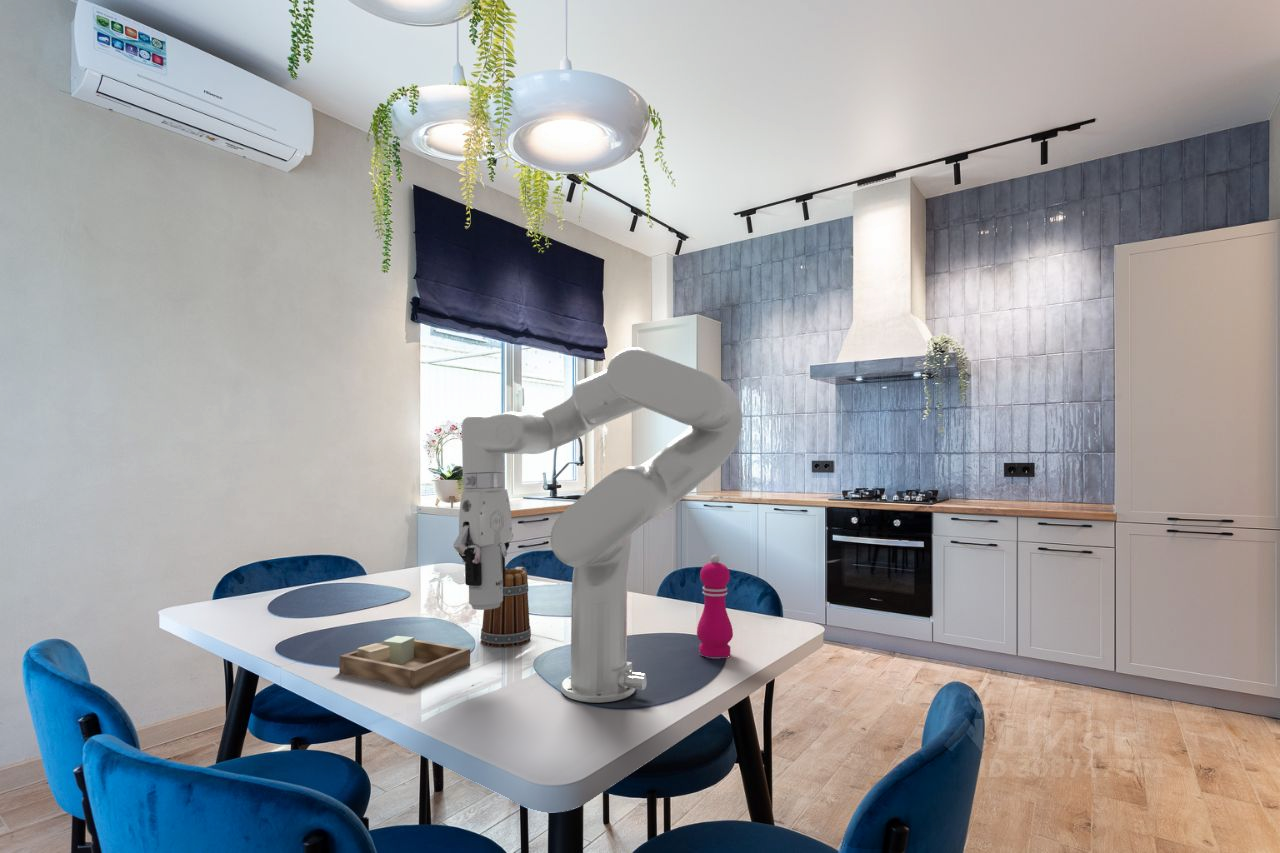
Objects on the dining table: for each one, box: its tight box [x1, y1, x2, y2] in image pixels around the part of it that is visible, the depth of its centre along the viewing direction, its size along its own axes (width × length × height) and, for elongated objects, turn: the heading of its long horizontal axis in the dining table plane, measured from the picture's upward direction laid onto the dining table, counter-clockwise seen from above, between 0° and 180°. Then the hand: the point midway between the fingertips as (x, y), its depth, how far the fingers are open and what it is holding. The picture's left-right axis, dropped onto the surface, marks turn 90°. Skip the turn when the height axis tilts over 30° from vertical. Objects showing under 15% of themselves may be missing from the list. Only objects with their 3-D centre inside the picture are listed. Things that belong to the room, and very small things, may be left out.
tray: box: [338, 638, 471, 690], centre depth 121 cm, size 18×14×4 cm
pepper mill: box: [696, 554, 734, 658], centre depth 134 cm, size 7×7×20 cm
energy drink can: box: [468, 531, 503, 611], centre depth 121 cm, size 6×6×15 cm
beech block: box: [356, 642, 390, 663], centre depth 121 cm, size 4×4×4 cm
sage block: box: [382, 635, 415, 665], centre depth 126 cm, size 4×4×4 cm
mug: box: [480, 566, 532, 648], centre depth 143 cm, size 16×11×15 cm
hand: (485, 580), depth 121 cm, fingers closed on energy drink can, 6 cm apart
